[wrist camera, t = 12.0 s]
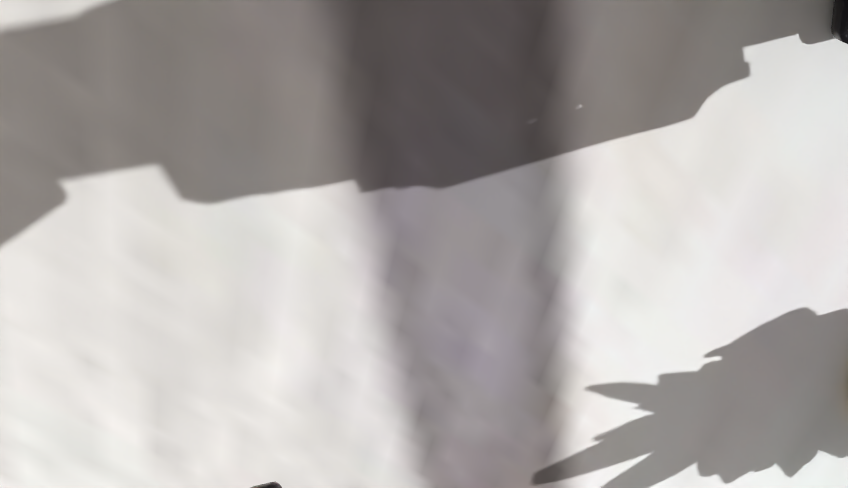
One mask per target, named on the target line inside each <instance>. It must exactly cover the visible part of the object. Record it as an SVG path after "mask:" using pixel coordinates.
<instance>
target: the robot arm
mask: <svg viewBox="0 0 848 488" xmlns="http://www.w3.org/2000/svg"><path fill="white" fill-rule="evenodd" d="M831 28H832V34H833V36H834V37H835V38H836V39H838V40H840V41H842V42H844V43H847V44H848V0H835V2H834V10H833V19H832V27H831ZM251 488H282V487H281V486H280V484H278V483H277V482H270V483H266V484H262V485H257V486H253V487H251Z"/></svg>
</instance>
